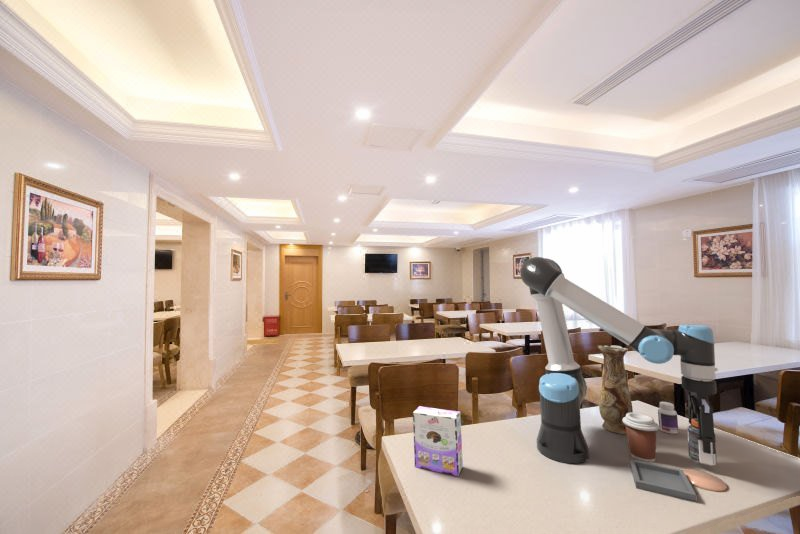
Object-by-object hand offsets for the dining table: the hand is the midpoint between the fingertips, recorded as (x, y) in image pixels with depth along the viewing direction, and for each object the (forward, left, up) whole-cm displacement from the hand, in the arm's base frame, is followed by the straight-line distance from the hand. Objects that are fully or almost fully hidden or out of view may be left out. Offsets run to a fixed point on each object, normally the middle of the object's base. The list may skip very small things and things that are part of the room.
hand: (702, 457), depth 92 cm
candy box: (-68, -36, -3) cm, 77 cm away
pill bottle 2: (0, 0, -1) cm, 1 cm away
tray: (-12, -15, -2) cm, 20 cm away
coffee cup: (-14, -1, -3) cm, 15 cm away
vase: (-19, +18, -3) cm, 27 cm away
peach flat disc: (-2, -9, -2) cm, 10 cm away
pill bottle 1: (-3, +24, -3) cm, 24 cm away
